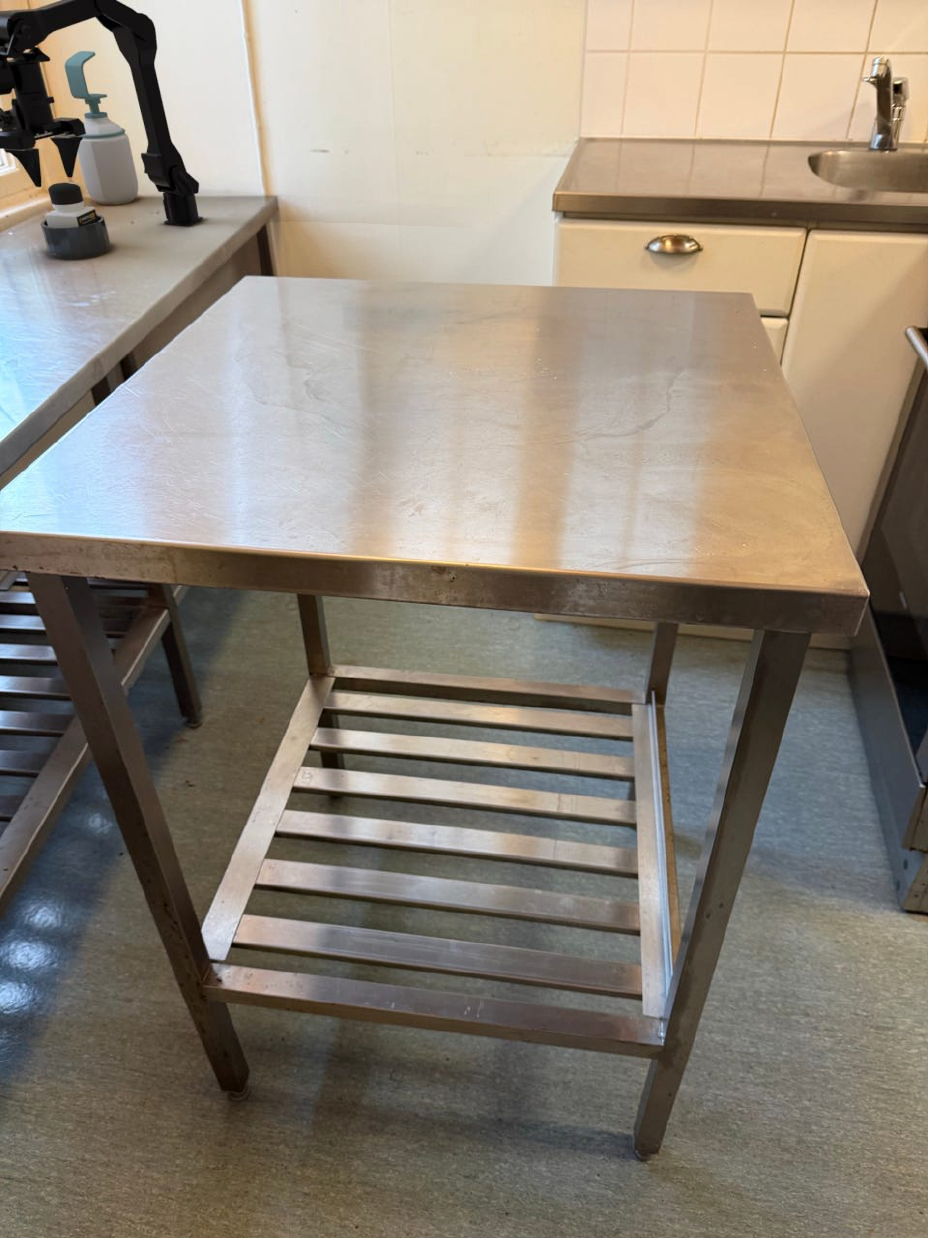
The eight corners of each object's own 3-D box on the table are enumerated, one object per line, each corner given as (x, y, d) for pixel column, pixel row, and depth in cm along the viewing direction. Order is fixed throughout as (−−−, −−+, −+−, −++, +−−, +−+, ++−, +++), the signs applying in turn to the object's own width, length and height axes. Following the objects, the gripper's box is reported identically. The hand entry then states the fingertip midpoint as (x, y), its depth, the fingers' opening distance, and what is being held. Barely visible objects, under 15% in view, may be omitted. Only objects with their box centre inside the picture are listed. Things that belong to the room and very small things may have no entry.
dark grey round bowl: (123, 245, 188) (116, 215, 184) (85, 261, 179) (77, 230, 175) (76, 241, 191) (68, 211, 188) (36, 256, 182) (27, 225, 179)
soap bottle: (152, 197, 223) (121, 50, 204) (116, 208, 214) (80, 55, 195) (115, 193, 227) (81, 48, 208) (78, 203, 219) (40, 53, 200)
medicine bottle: (86, 252, 181) (69, 188, 174) (54, 250, 183) (36, 187, 175) (104, 243, 187) (88, 180, 180) (73, 241, 188) (56, 179, 181)
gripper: (30, 83, 177) (53, 170, 187) (-41, 96, 163) (-13, 189, 173) (76, 85, 174) (97, 173, 184) (8, 98, 160) (34, 193, 170)
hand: (54, 181), depth 178 cm, fingers open, 9 cm apart
